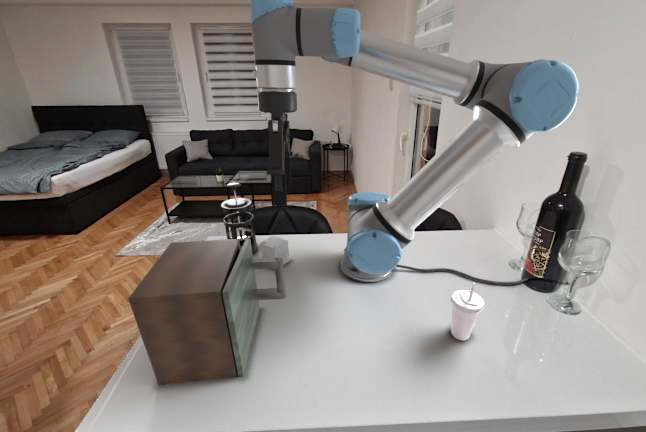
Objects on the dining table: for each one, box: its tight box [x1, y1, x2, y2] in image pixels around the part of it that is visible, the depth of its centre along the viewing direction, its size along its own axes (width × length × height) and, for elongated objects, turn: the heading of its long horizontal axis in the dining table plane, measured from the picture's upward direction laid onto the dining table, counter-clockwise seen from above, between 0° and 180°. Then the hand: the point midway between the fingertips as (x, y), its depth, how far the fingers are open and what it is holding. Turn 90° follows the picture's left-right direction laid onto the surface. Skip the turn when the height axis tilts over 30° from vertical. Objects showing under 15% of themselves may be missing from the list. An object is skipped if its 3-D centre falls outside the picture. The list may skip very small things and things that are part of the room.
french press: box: [220, 182, 259, 256], centre depth 95 cm, size 12×9×23 cm
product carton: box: [259, 235, 291, 266], centre depth 91 cm, size 6×6×7 cm
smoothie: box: [450, 282, 485, 342], centre depth 64 cm, size 6×6×14 cm
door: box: [222, 239, 287, 377], centre depth 61 cm, size 8×18×20 cm, turn 3°
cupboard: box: [127, 239, 242, 386], centre depth 60 cm, size 14×18×20 cm
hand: (283, 193), depth 68 cm, fingers open, 13 cm apart
